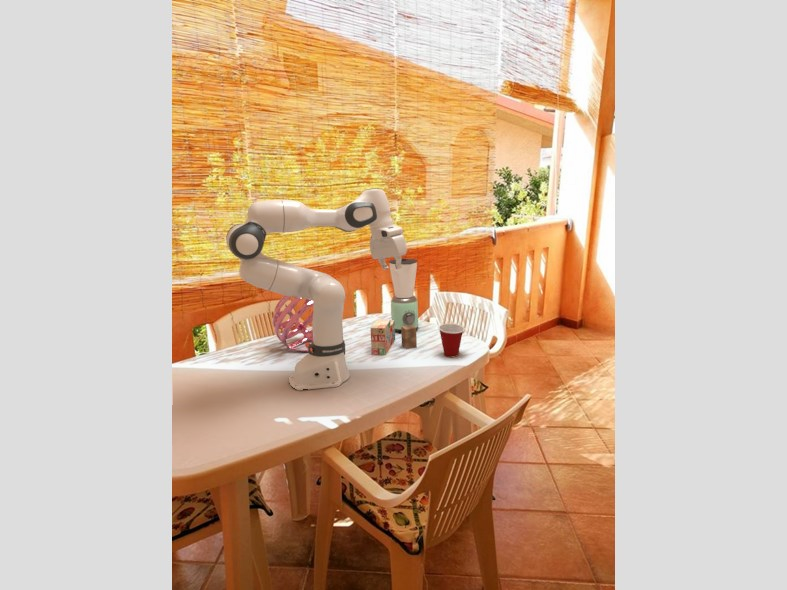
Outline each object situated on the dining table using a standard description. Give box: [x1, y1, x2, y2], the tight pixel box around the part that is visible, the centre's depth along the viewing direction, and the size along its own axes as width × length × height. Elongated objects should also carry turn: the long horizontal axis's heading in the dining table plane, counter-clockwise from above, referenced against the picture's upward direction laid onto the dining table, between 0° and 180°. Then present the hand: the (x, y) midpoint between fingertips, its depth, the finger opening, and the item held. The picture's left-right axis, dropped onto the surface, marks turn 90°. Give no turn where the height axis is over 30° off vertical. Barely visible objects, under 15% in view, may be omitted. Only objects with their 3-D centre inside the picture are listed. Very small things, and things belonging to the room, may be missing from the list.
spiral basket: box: [272, 295, 313, 353], centre depth 215 cm, size 28×28×27 cm
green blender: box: [388, 258, 419, 334], centre depth 236 cm, size 19×13×35 cm
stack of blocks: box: [370, 318, 396, 356], centre depth 215 cm, size 21×6×12 cm, turn 169°
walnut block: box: [401, 325, 418, 350], centre depth 214 cm, size 5×5×9 cm
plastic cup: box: [437, 323, 466, 357], centre depth 202 cm, size 11×11×12 cm
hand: (392, 269), depth 181 cm, fingers open, 8 cm apart
